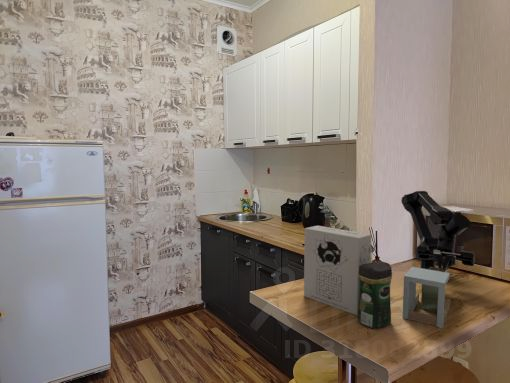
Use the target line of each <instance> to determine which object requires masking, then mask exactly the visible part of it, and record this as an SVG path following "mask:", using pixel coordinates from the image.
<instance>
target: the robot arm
mask: <svg viewBox="0 0 510 383" xmlns="http://www.w3.org/2000/svg"><path fill="white" fill-rule="evenodd" d="M400 200H401V204H402V207H403V208H404V210H406V211H407V212H408V213H409V214H410V216H411V219H412V222H413V224H414V226H415V230H416V233H417V235H418V237H419V240H420V241H419V244H418V245H417V246H416V249H415V259H416V260H418V261H420V267H419V268H422V269H428V270H429V268H430V267H436V264H437V268H442V269H447V270H448V269H449V268H450V267H453V266H455V265H456V263H457V262H456V261H457V260H459V261H461V264H463V266H469V267H474V265H475V252H473V251H469V250H468V251H467V250H461V252H460V253H456V251H455V246H456V239H457V238H456V237H457V235H458V236H459V235H460V234H461V233H463V232H464V231H465V230H467V229H468V228H469V227H470V225H471V222H470V219H469V218H468V217H467V216H465V215H464V214H462V212H461V211H456V212H454V213H453V211H452V210H450V209H449V208H447V207H443V206H441V205H440V204H439V203H438V202H436V201H435V200H434V199H433V198H432V197H431V196H430V194H429V192H428V191H426V190H415V191H413V192H412V193H407V194H404V195H403V196H402V197H401V198H400ZM422 208H424V209H425V211H426V212H428V213H429V219H430V221H431V222H432V224H433V225H435V226H438V225H439V226H440V227H439V230H438V237H433V235H432V233H431V230H430V228H429V224H428V223H427V219H426V217H425V215H424V213H423V210H422Z"/></svg>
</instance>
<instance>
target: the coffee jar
mask: <svg viewBox="0 0 510 383" xmlns="http://www.w3.org/2000/svg"><path fill="white" fill-rule="evenodd" d="M358 275H359V279H360V297H359V307H358V315H357V321H358V322H359V323H360V324H361V325H362V326H364V327H366V328H371V329H380V328H384V327H386V326H388V325H389V324H391V323H392V308H391V306H392V305H391V283H392V279H393V272H392V266H391V264H390V262H389V263H388V262H386V261H382V260H377V261H372V262H370V263H367V264H362V265H360V266H359V274H358Z"/></svg>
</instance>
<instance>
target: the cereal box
mask: <svg viewBox="0 0 510 383" xmlns="http://www.w3.org/2000/svg"><path fill="white" fill-rule="evenodd" d="M303 250H304V253H303V254H304V257H303V258H304V261H303V263H304V266H303V267H304V268H303V273H304V275H303V297H304V298H305V297H306V298H308V299H310V300H313V301H316V302H319V303H321V304H324V305H328V306H330V307H333V308H335V309H338V310H341V311H343V312H346V313H349V314H351V315H354V316H358V307H359V297H360V279H359V275H358V274H359V266H360V265H362V264H367V263H371V257H372V256H371V255H372V234H370V233H364V232H357V231H353V230H346V229H342V228H341V229H339V228H335V227H329V226H323V225H313V226H309V227H305V228H304V249H303Z"/></svg>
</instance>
